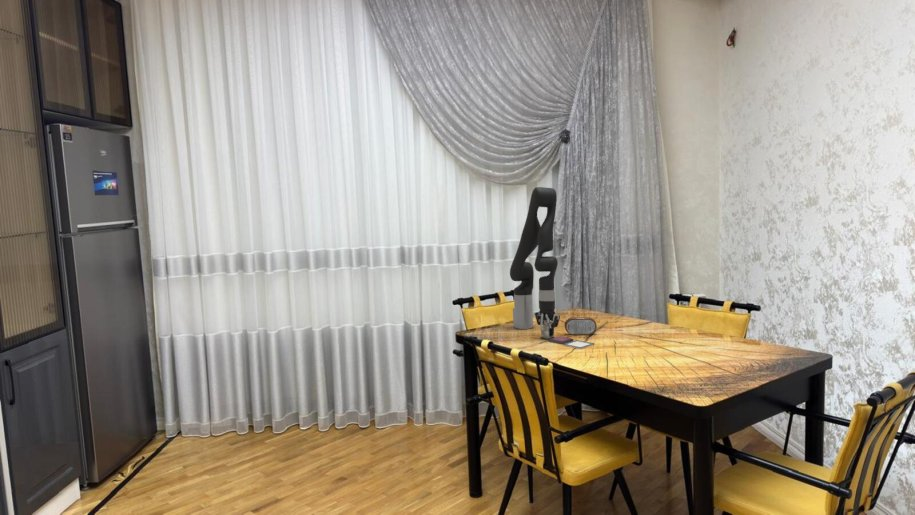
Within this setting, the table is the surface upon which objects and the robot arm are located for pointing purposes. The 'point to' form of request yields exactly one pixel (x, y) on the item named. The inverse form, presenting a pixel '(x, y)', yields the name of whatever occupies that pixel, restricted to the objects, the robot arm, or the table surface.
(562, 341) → the ink pad
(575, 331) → the tin
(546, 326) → the stamp
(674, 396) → the table surface
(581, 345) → the marked box
